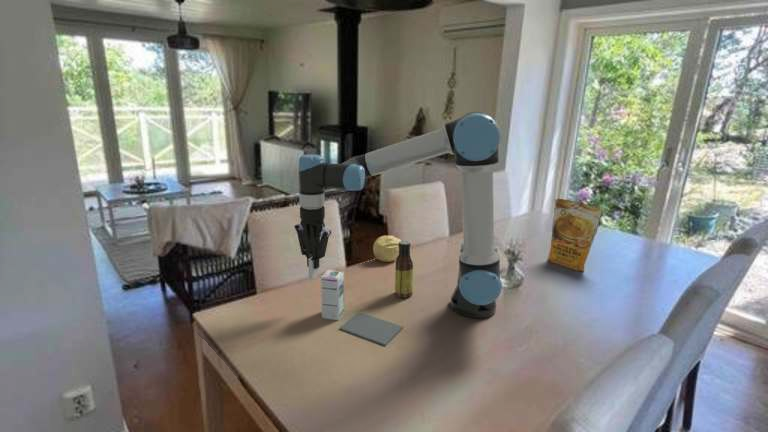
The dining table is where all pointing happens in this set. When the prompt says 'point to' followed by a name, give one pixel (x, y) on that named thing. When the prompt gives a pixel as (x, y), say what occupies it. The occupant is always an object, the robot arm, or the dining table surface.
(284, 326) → the dining table surface
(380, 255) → the yellow round lump
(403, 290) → the sauce bottle
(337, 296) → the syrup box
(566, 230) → the pancake mix bag
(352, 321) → the felt mat
